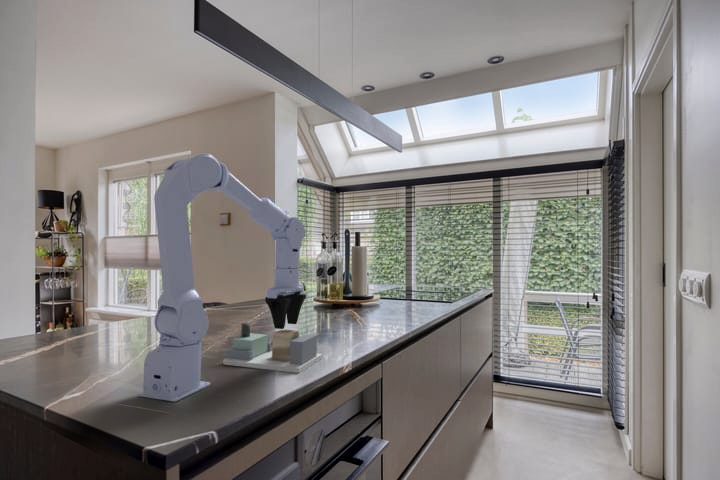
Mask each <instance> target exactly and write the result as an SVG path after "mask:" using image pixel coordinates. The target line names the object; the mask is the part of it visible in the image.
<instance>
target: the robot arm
mask: <svg viewBox="0 0 720 480" xmlns="http://www.w3.org/2000/svg"><path fill="white" fill-rule="evenodd" d="M163 173H164V175H163V177H162V179H161V181H160V183H159V184H158V186H157V189H156V191H155V193H154V198H153V200H154V208H155V209H154V211H155V218H156V219H155V221H156V231H157V240H158V250H159V251H158V252H159V260H160V271H161V282H162V293H161V295H160V296H159V298H158V299H157V311H156V314H155V316H154V321H153V323H154V328H155V330H156V332H157V333H159V334H160V336H159V344H158V345H157V347H156V348H155V349H152V350H151V351H149V352H148V353H147V355H146V357H145V358H144V359H145V360H144V364H143V389H142V390H143V391H142V392H139V394H138V395H139V397H142V398H147V399H148V398H149V399H153V400H155V399H156V400H161V401H168V402H178V401H180V400H182V399H183V398H186V397H188V396H190V395H192V394H194V393H196V392H199V391H201V390H203V389H205V388H207V387H209V386H211V382H210V381H203V380H202V381H201V371H202V370H201V369H202V343H203V338H204V337H205V336H206V334H207V333H208V330H209V326H210V320H209V315H208V314H207V313H206V310H205V308H204V305H203V299H202V298H201V296H200V295H199V293H198V292H197V290H196V287H195V279H194V278H195V277H194V265H193V257H192V246H191V245H192V244H191V236H190V235H191V234H190V224H189V214H188V213H189V211H188V206H189V204H190V203H192V201H193V200H195V198H196V197H198V196H199V195H200V194H201V193H203V192H205V191H208V192H209V191H210V192H220V193H222V194H223V195H225V197H227V198H229V199H231V200H233V201H234V202H236V203H237V204H238V205H240V206H242V207H243V208H245V209H246V210H248V211H249V217H250V218H251V219H252V220H253V221H254V222H256V223H257V224H258V225H260V226H262V227H263V228H264V229H266V231H268V232H269V233H270V235H271V236H270V237H271V238H272V239H273V240H274V241H275V250H274V252H275V254H274V255H275V256H274V257H275V258H274V286H273V287H270V288H268V289H267V290H266V291H267V293H266V297H264V298H265V303H266V305H267V306H268V308H269V311H270V314H271V318H272V321H273V327H274V329H277V330H282V329H284V328H285V327H286V322H287V324H288V325H297V323H298V320H299V317H300V312H301V310H302V306H303V303H304V302H305V301H306V298H307V294H306V293H304V292H305V291H304V289H305V286H304V285H305V284H300V264H301V263H300V262H301V261H300V260H301V258H300V257H301V248H302V244H303V240H304V238H305V236H306V233H307V232H306V231H307V230H306V229H305V225H304V223H303V222H302V221H301V220H300V218H298V217H296V216H295V217H292V216H290V215H289V212H288V211H286V210H283V209H282V208H281V207H279V206H278V205H277V204H276V203H275V200H274V199H273V198H268V197H258V196H257V195H256V194H255V193H253V191H251V189H249V188H248V187H247V186H246V185H244V184H243V183H242V181H240V180H239V179H238V178H237V177H235V175H234V174H232V173H231V172H230V171H229V169H228V167H227V165H226V164H224V163H222V162H221V161H219V160H218V159H217V158H216V157H215V156H214V155H211V154H209V153H204V152H203V153H199V154H196V155H195V156H191V157H189V158H184V159H178V160H176V161H174V162H172V163H171V164H170V165H169V166H167V167H166V168H165V169H164V172H163ZM284 330H285V329H284Z"/></svg>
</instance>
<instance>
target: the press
mask: <svg viewBox="0 0 720 480" xmlns="http://www.w3.org/2000/svg"><path fill="white" fill-rule="evenodd" d="M317 346H318V334H317V335H316V334H303V335H301V336H300V335H299V337H298V338H296V339H294V340H291V341H290V361H286V360H277V359H272V346H271V341H269V342H268V343H267V351H266V352H264V353H262V354H260V355H257V356H255V357H253V358H252V353H253V351H249V350H239V349H233V348H228V349H227V350H226V351H227V355H226V358H225V359H223V360H222V364H223V365H226V366H234V367H235V366H236V367H244V368H250V369H251V368H252V369H259V370H269V371H277V372H285V373H286V372H287V373H294V374H295V373H296V374H299V373H301V372H303V371H305V370H306V369H308V368H309V367H312V365H314V364H316V363H317V362H319V361H320V360H322V359H323V353H319V352H318V351H317V350H318V349H317V348H318V347H317ZM317 352H318V353H317Z"/></svg>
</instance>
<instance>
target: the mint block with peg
mask: <svg viewBox="0 0 720 480" xmlns="http://www.w3.org/2000/svg"><path fill="white" fill-rule="evenodd" d="M268 338H269V337H268V334H264V333H263V334H261V333H252V332H251V323H248V322H245V323H241V335H240V336H238V337H235V338H233V339H232V340H233V342H232V344H233V345H232V346H233V347H232V349H239V350H249V351H253V353H252V358H253V357H255V356H257V355H260V354H262V353H264V352H266V351H267V343H268Z"/></svg>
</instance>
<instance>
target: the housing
mask: <svg viewBox="0 0 720 480" xmlns="http://www.w3.org/2000/svg"><path fill="white" fill-rule="evenodd" d="M298 337H300V331H299V330H295V329H294V330H293V329H278V330H277V331H274V332H272V339H271V341H270V343H271V346H272V359H277V360H286V361H290V341H291V340H294V339H296V338H298Z"/></svg>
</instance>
